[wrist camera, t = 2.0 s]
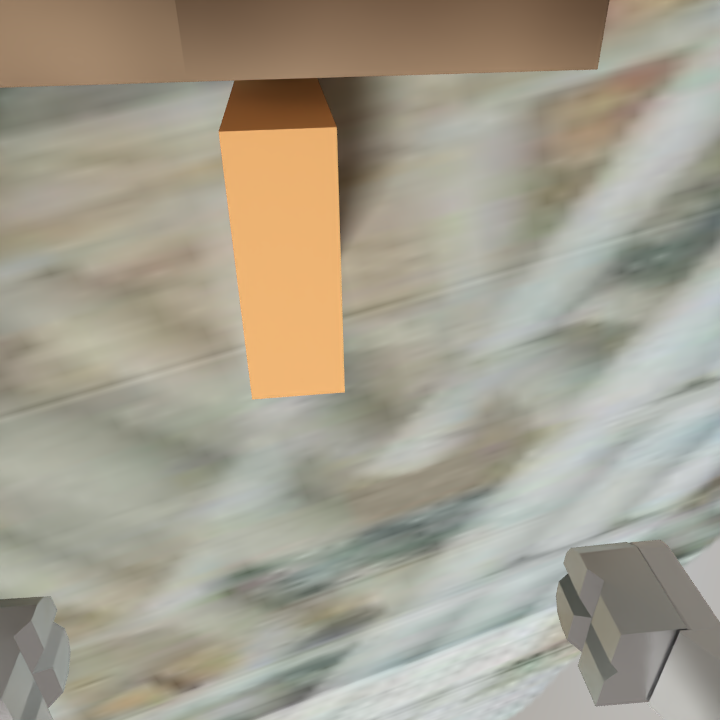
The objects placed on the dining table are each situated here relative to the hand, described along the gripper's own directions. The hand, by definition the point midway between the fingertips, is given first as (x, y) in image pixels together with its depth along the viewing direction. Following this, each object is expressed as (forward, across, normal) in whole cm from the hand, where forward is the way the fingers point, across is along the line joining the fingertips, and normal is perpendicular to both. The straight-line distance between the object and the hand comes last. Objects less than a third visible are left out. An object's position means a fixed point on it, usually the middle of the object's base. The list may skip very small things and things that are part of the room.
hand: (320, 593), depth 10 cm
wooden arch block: (+24, 0, -1) cm, 24 cm away
